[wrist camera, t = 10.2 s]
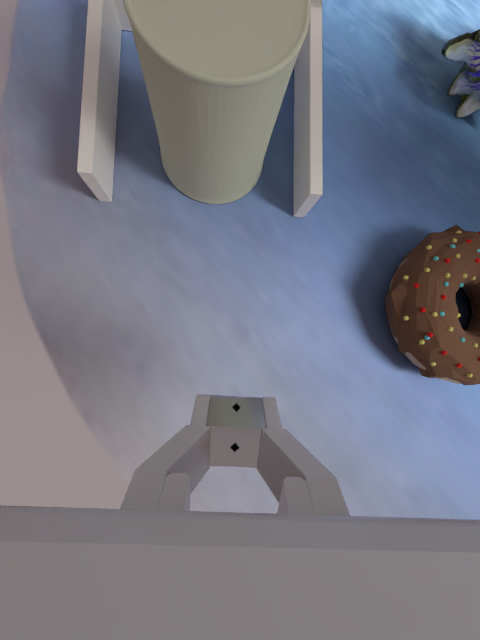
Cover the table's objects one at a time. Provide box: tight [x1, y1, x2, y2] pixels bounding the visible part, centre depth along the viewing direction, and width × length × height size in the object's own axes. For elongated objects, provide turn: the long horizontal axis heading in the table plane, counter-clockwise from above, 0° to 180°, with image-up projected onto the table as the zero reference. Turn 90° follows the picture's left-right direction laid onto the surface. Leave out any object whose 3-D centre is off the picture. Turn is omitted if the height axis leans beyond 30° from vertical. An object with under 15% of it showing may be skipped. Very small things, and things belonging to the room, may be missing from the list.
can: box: [123, 0, 310, 204], centre depth 18 cm, size 9×9×12 cm
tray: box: [77, 0, 323, 218], centre depth 22 cm, size 17×18×4 cm
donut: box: [385, 225, 480, 385], centre depth 24 cm, size 14×14×5 cm
